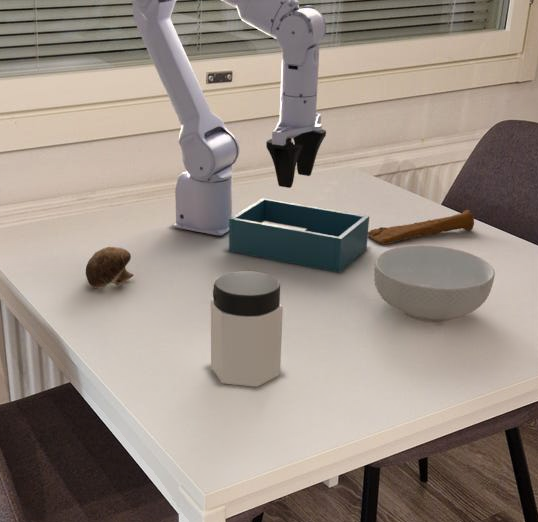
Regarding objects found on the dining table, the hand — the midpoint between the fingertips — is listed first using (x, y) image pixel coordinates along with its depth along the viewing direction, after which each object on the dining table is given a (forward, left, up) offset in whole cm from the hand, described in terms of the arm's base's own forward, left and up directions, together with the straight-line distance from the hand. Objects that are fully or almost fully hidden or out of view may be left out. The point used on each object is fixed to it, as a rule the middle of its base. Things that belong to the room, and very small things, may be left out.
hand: (294, 180), depth 158 cm
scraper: (+3, -3, -10) cm, 11 cm away
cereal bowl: (+30, -17, -11) cm, 36 cm away
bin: (+2, -3, -10) cm, 11 cm away
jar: (+14, -47, -11) cm, 50 cm away
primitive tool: (+18, +14, -11) cm, 25 cm away
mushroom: (-16, -31, -11) cm, 37 cm away
